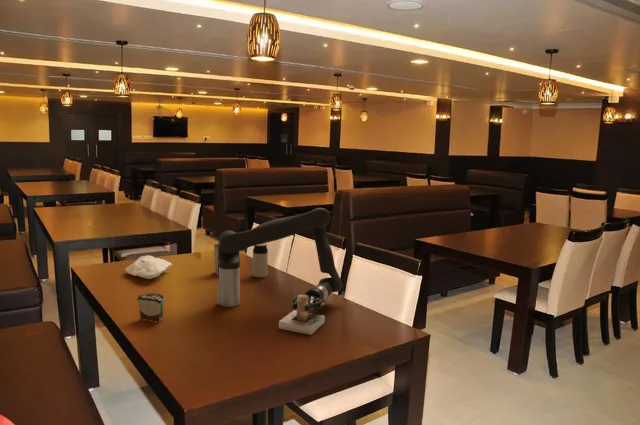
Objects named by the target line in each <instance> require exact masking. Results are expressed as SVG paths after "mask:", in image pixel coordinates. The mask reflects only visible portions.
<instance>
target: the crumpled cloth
mask: <svg viewBox="0 0 640 425" xmlns="http://www.w3.org/2000/svg"><path fill="white" fill-rule="evenodd" d="M172 266H173V264H172V263H171V262H170V261H167V260H165V259H162V258H158V257H155V256H153V255H142V256H140V257H138V258H137V260H135V261H134V262H133V263H131V264H130V265H129V266H127V267H126V268H125V269H124V270H125V272H126V273H127V274H129V275H132V276H135V277H140V278H143V279H148V280H151V279H154V278H157V277H159V276H160V275H161V274H163V273H164V272H165V271H166V270H167V269H169V268H171V267H172Z"/></svg>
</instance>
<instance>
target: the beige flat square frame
mask: <svg viewBox="0 0 640 425" xmlns="http://www.w3.org/2000/svg"><path fill="white" fill-rule="evenodd" d="M325 318H326V317H325V315H323V314H316V313H311V312H308V322H306V323H305V322H300V321H297V309H293V311H291V312H289V313H288V314H287V315H286V316H284V317H283V318H281V319H280V320H279V321H278V329H281V330H285V331H289V332H295V333H299V334H303V335H304V334H306V335H309V336H311V335H313V333H315V332H316V331H317V330H318V329H319V328H321V327H322V325H324V324H325V320H326V319H325Z"/></svg>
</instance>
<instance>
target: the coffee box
mask: <svg viewBox="0 0 640 425" xmlns="http://www.w3.org/2000/svg"><path fill="white" fill-rule="evenodd" d="M213 245H214V274H216V275H217V276H219V248H218V243H216V244H213Z"/></svg>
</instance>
